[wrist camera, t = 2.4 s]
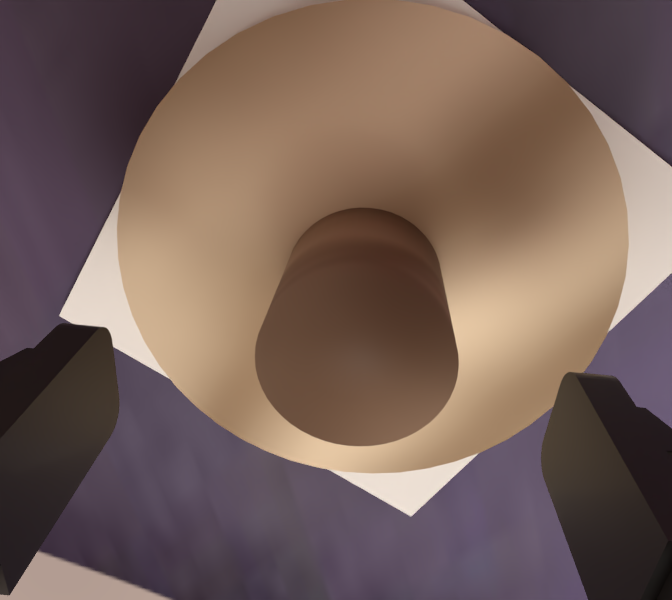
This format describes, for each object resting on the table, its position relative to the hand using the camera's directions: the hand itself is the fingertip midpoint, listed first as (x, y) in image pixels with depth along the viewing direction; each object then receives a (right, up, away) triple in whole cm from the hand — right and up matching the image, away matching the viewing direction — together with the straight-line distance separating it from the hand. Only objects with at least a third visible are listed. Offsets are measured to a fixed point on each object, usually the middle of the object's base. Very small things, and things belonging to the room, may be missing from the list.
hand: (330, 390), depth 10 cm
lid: (+1, +2, +5) cm, 6 cm away
